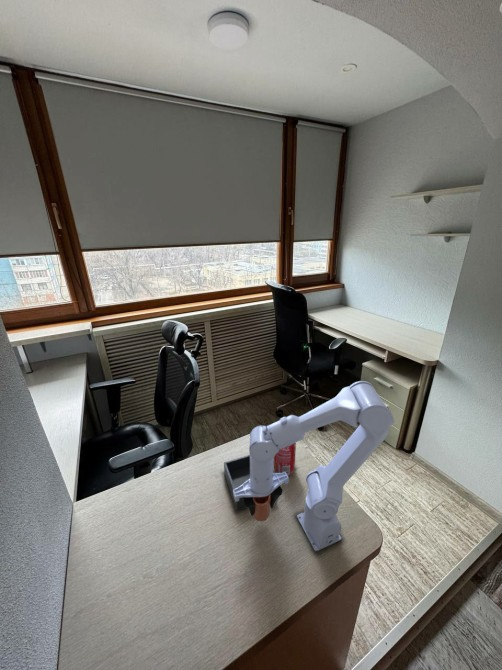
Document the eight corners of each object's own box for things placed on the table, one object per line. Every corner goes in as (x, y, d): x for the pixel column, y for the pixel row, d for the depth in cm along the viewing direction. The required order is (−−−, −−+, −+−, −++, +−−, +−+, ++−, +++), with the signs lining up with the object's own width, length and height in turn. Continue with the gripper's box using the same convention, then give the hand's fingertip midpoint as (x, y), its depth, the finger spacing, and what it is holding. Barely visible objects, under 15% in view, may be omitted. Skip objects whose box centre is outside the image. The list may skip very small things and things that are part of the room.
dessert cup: (273, 517, 70) (273, 501, 68) (255, 524, 69) (255, 508, 67) (265, 500, 75) (266, 485, 72) (248, 506, 73) (248, 491, 71)
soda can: (297, 474, 88) (300, 444, 83) (277, 479, 86) (278, 448, 81) (289, 457, 94) (291, 428, 89) (269, 462, 92) (270, 432, 87)
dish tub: (275, 496, 80) (276, 484, 79) (236, 510, 76) (236, 498, 75) (258, 462, 92) (259, 451, 90) (224, 473, 88) (223, 462, 86)
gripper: (280, 450, 72) (278, 486, 77) (228, 467, 67) (230, 504, 72) (293, 471, 66) (290, 509, 71) (237, 491, 61) (238, 529, 66)
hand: (261, 508), depth 71 cm, fingers closed on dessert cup, 5 cm apart
